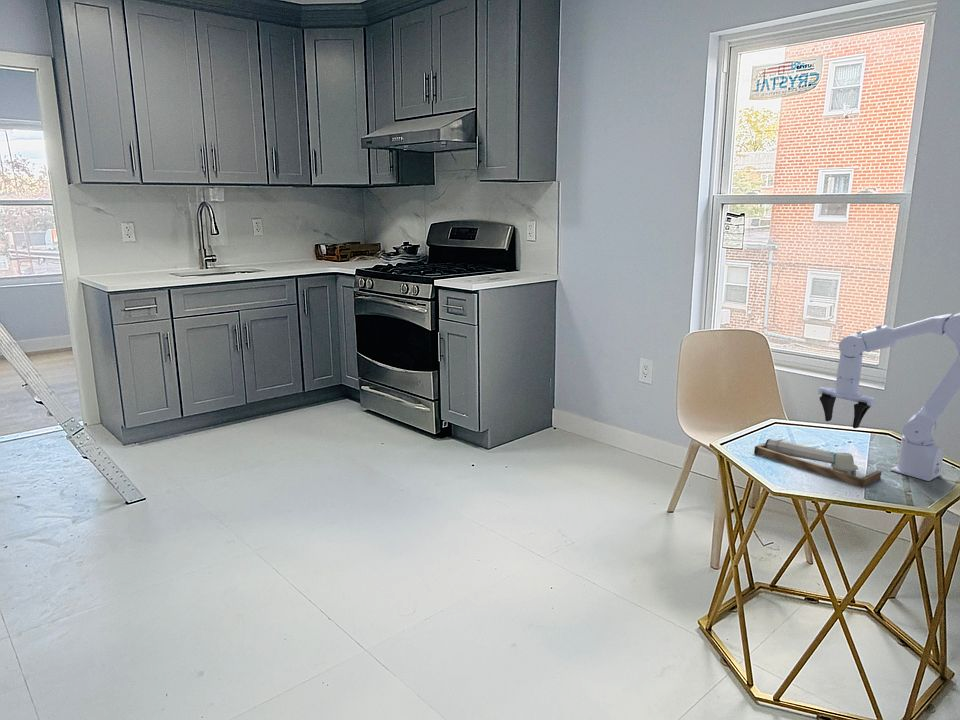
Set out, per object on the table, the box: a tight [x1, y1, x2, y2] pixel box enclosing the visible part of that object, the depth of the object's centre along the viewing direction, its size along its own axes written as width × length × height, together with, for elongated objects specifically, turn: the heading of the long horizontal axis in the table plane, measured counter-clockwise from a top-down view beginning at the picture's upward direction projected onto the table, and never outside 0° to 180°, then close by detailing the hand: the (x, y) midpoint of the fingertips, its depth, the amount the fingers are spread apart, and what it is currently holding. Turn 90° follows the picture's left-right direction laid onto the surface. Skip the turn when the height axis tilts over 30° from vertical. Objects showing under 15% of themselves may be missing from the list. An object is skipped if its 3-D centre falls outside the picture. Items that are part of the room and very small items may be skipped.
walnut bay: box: [753, 442, 883, 488], centre depth 188 cm, size 30×10×2 cm, turn 37°
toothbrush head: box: [764, 438, 858, 476], centre depth 189 cm, size 5×7×25 cm
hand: (841, 424), depth 194 cm, fingers open, 7 cm apart
